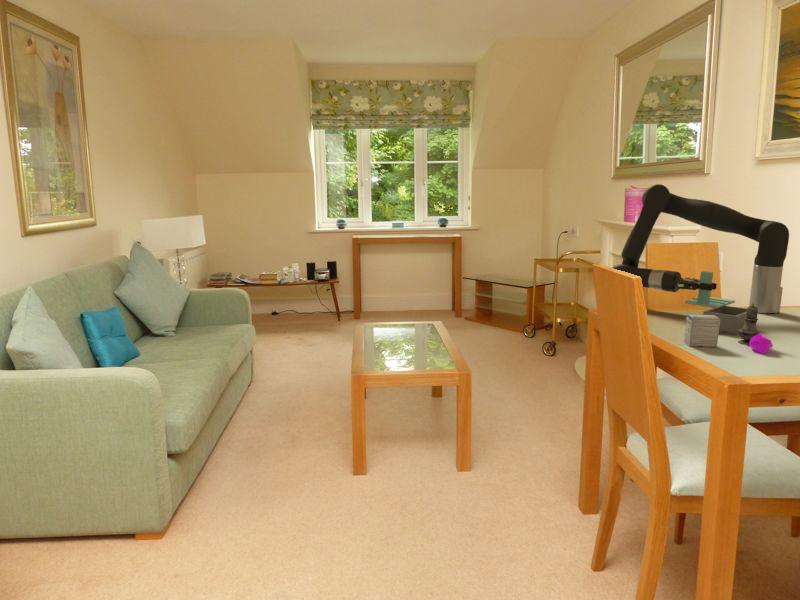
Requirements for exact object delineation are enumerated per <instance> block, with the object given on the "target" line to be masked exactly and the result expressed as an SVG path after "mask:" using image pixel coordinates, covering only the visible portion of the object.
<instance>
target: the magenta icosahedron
mask: <svg viewBox="0 0 800 600" xmlns="http://www.w3.org/2000/svg"><path fill="white" fill-rule="evenodd" d="M748 346H750V348H751V350H753V351H755V352H756V353H759V354H761V355H764V354H765V353H767V352H768V351H769V350H770V349H771V348H773V346H774V345H773V342H772V341H771V339H769V338H768V337H767V336H765V335H764V334H762V332H761V333H759V334H757V335H756V336H754V337H752V338H751V339H750V342H749V345H748Z"/></svg>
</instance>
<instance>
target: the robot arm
mask: <svg viewBox="0 0 800 600" xmlns="http://www.w3.org/2000/svg"><path fill="white" fill-rule="evenodd" d="M641 202H642V207H641V211H640V213H639V216H638V219H637V220H636V222H635V224H634V226H633V228H632V230H631V231H630V234H629V235H628V236H627V240H626V242H625V244H624V246H623V249H622V251H621V254H620V255H621V258H622V262H621V264H615V265H613V266H612V267H611V268H614V269H617V270H621V271H625V272H628V273H631V274H634V275H637V276H640V277H641V278H642V284H643V287H642V288H647V289H653V290H657V291H662V292H671V293H677V292H678V291H679V290H688V291H689V290H690V291H699V290H700V289H701V290H708V291H711V292H712V291H713V290H714V291H715V290H717V286H718V285H717V283H715V282H712V284H705V283H700V278H695V277H693V278H691V277H687V276H685V277H682V274H681V273H680V272H679V271H674V270H665V269H653V268H644V267H643V268H641V267H639V263H640V259H641V257H642V255H643V252H644V251H645V247H646V245H647V243H648V241H649V239H650V235H651V233H652V230H653V228H654V226H655V224H656V222H657V220H658V218H659V217H660V215H661V213H663V214H668V215H672V216H675V217H679V218H680V219H683V220H686V221H688V222H691V223H693V224H696V225H700V226H702V227H705V228H708V229H711V230H715V231H718V232H724V233H729V234H736V235H740V236H742V237H745V238H747V239H750V240H752V241H755V242H757V243H758V247H757V253H756V256H755V257H754V262H753V271H752V278H751V279H752V280H751V286H750V287H751V288H750V294H749V300H748V301H749V302H748V303H749V304H748V307H750V306H752V304H754V306H755V307H756V308H757V309H758V313H757V314H766V313H774V314H777V312H781V305H782V299H783V298H782V297H783V286H781V285H782V277H783V270H784V262H785V260H786V259H787V254H788V252H787V251H788V249H789V248H788V246H789V240H790V231H789V229H788V227H787V226H786V225H785V224H784V223H782V222H780V221H775V220H768V219H762V218H757V217H752V216H749V215H746V214H743V213H742V212H740V211H738V210H735V209H733V208H731V207H728V206H725V205H723V204H720V203H716V202H713V201H709V200H704V199H697V198H689V197H688V198H687V197H684V196H680V195H676V194H674V193H671V192H670V190H669V188H667V187H666V185H663V184H661V183H660V184H659V183H658V184H653V185H650V186H649V187H648V188H647V189H645V191H644V192H643V194H642V197H641Z"/></svg>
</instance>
